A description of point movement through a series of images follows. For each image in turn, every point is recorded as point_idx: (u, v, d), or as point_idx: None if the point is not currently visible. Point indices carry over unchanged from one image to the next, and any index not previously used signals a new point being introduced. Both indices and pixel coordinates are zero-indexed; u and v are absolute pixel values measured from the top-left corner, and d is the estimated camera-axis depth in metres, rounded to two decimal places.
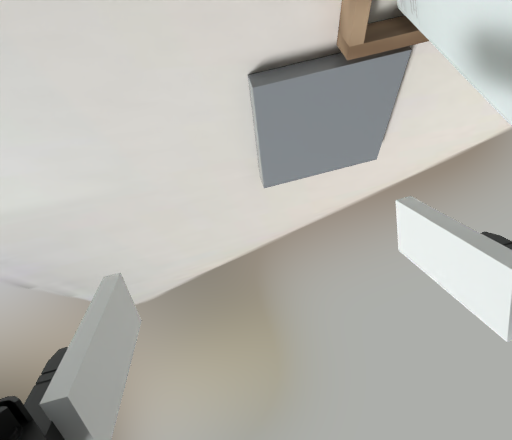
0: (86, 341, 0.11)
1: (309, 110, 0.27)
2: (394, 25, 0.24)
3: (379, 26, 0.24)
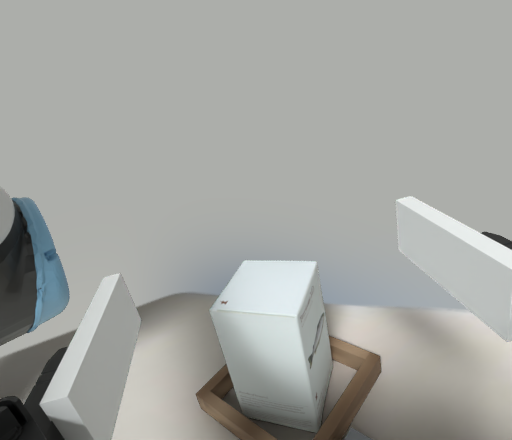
0: (86, 341, 0.11)
1: None
2: None
3: None
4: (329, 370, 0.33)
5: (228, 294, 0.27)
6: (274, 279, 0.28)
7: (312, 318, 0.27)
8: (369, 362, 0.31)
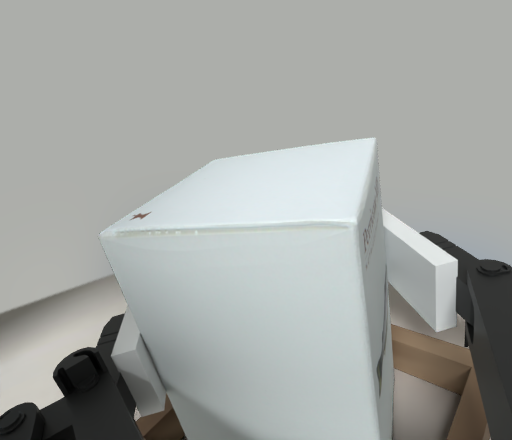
0: None
1: None
2: None
3: None
4: None
5: (159, 202, 0.11)
6: (277, 168, 0.11)
7: (380, 259, 0.10)
8: None
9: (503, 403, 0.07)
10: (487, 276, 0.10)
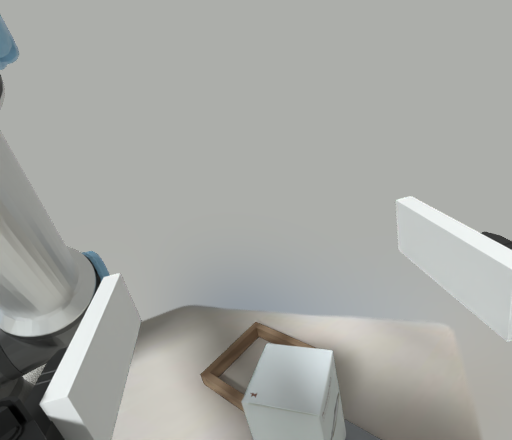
0: (86, 341, 0.11)
1: None
2: None
3: None
4: None
5: (257, 386, 0.31)
6: (296, 370, 0.32)
7: (330, 407, 0.31)
8: None
9: None
10: None
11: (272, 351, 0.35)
